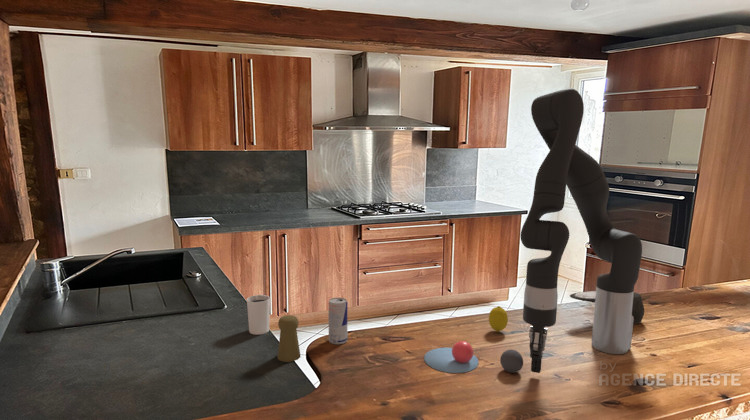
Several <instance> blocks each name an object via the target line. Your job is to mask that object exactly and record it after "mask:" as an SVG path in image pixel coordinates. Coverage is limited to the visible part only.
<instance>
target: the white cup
mask: <svg viewBox="0 0 750 420" xmlns="http://www.w3.org/2000/svg"><path fill="white" fill-rule="evenodd" d="M270 302H271V298H270V296H269V295H267V294H266V295H265V294H255V295H251V296H249V297H247V298H246V305H247V306H246V308H247V318H248V319H247V321H248V332H249V333H250V334H252V335H255V336H256V335H259V336H260V335H264V334H267V333H268V332H269V331H270V316H271V315H270V312H271V311H270V309H271V308H270V307H271V305H270V304H271V303H270Z"/></svg>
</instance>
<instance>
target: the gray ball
mask: <svg viewBox="0 0 750 420" xmlns="http://www.w3.org/2000/svg"><path fill="white" fill-rule="evenodd" d="M499 359H500V360H499V361H500V365H501V367H502V369H504V370H505V371H506V372H507V373H510V374H511V373H512V374H513V373H517V372H520V370H521V369H522V368H523V366H524V358H523V356H522V355H521V353H520V352H518V351H517V350H516V349H507V350H505V351H503V353H502V354H501V355H500V358H499Z"/></svg>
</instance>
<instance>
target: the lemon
mask: <svg viewBox="0 0 750 420" xmlns="http://www.w3.org/2000/svg"><path fill="white" fill-rule="evenodd" d="M488 323H489V326H490V327H491V329H493V330H494V331H495V332H497V333H498V332H500V331H503V330H504V329H506V328H507V325H508V323H509V317H508V313H507V311H506V310H505V309H504V308H503V307H502V306H499V305H498V306H495V307H494V308H492V309H491V310H490V312H489V314H488Z"/></svg>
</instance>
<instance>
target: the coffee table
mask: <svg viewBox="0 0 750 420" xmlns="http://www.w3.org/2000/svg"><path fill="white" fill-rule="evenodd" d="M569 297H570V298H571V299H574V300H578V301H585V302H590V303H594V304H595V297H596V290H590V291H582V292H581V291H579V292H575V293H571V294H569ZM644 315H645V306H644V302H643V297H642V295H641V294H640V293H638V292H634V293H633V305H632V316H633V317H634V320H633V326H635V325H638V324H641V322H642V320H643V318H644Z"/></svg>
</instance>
